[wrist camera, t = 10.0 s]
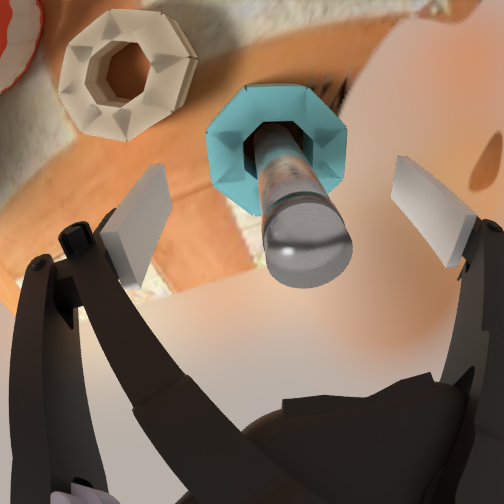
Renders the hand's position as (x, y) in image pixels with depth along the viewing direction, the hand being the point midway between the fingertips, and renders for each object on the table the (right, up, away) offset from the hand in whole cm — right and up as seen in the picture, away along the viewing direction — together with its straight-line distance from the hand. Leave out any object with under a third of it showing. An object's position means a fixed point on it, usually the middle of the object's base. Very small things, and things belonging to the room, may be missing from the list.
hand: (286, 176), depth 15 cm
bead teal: (0, +4, +6) cm, 7 cm away
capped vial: (0, +4, +6) cm, 7 cm away
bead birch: (-11, +9, +2) cm, 14 cm away
